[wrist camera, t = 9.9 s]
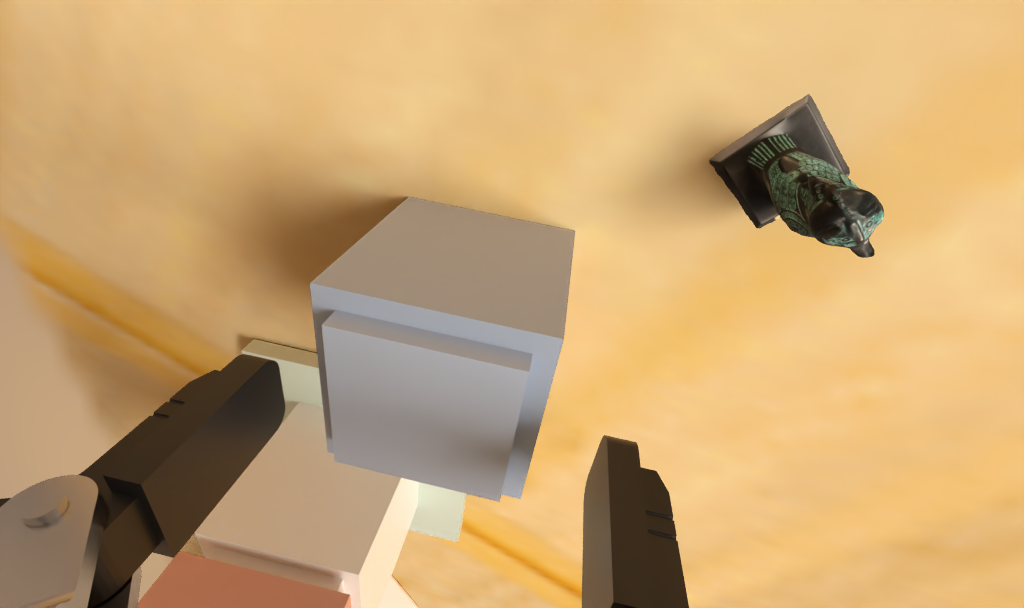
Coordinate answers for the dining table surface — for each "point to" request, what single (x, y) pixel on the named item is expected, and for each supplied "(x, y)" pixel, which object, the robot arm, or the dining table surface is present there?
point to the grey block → (442, 345)
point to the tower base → (320, 502)
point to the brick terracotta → (232, 588)
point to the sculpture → (800, 180)
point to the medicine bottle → (396, 596)
